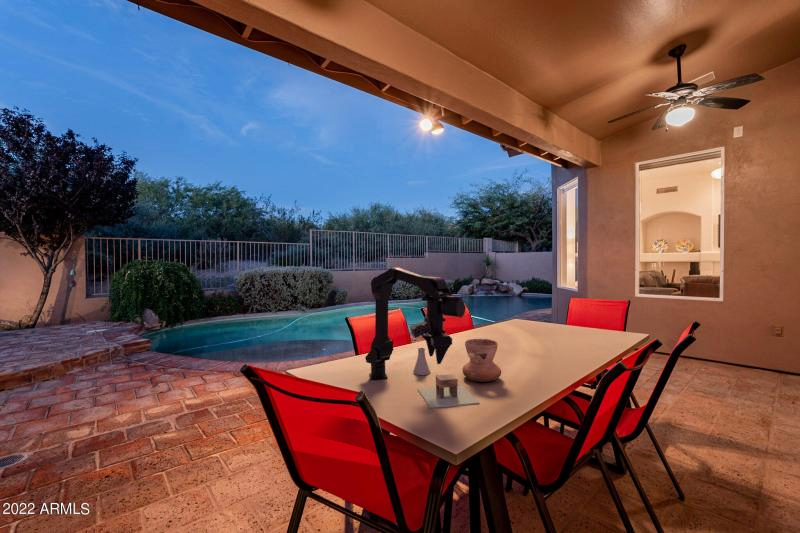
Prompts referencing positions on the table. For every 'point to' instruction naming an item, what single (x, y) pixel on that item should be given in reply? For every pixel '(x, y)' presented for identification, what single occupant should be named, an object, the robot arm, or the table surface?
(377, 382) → the table surface
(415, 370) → the flask
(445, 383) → the walnut stool
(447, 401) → the sage mat
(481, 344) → the ceramic jug
